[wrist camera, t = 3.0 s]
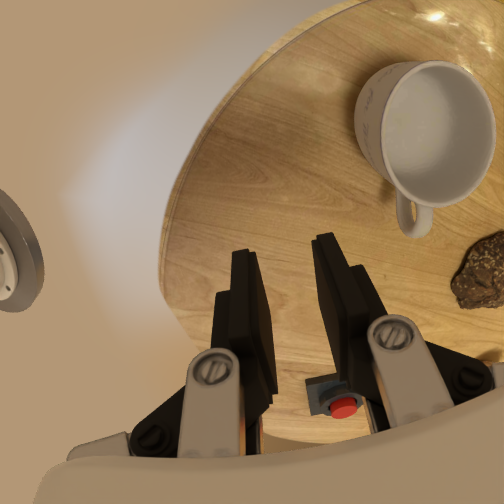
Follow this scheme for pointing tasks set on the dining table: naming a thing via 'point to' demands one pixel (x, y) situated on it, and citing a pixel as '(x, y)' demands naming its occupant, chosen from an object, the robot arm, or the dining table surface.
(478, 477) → the robot arm
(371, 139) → the teacup
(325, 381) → the grey button base
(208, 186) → the dining table surface
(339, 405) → the red push button
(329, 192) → the dining table surface
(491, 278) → the bread roll
